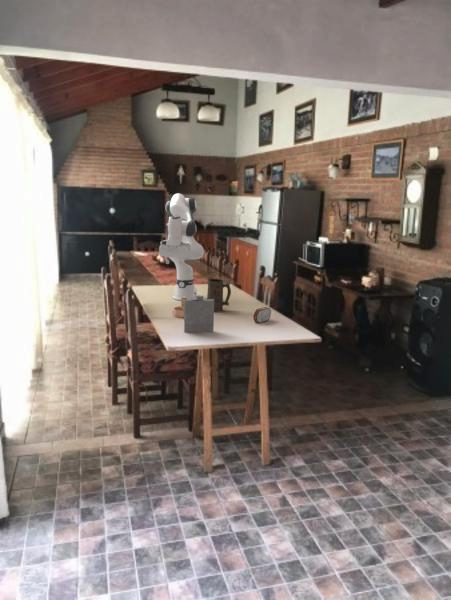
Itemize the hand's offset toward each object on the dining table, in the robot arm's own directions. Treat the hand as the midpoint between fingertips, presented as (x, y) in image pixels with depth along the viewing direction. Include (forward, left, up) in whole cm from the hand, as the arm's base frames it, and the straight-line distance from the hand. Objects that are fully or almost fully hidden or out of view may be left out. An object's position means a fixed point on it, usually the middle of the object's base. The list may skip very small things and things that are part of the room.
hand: (174, 264), depth 311 cm
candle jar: (+11, +11, -29) cm, 33 cm away
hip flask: (+43, +32, -29) cm, 61 cm away
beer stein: (-11, +26, -29) cm, 41 cm away
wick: (+11, +11, -28) cm, 32 cm away
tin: (+7, +59, -29) cm, 66 cm away
